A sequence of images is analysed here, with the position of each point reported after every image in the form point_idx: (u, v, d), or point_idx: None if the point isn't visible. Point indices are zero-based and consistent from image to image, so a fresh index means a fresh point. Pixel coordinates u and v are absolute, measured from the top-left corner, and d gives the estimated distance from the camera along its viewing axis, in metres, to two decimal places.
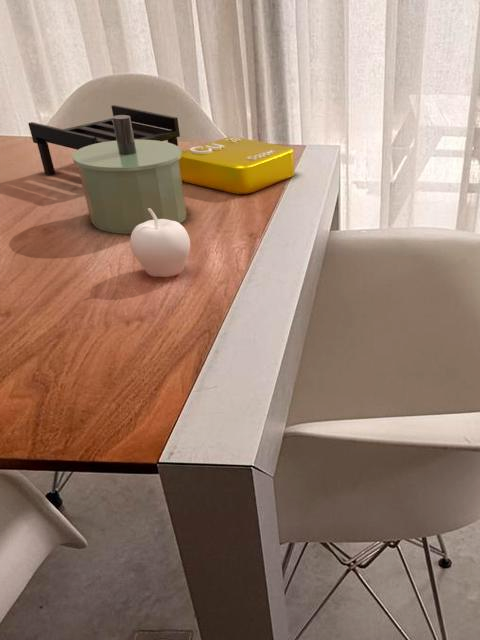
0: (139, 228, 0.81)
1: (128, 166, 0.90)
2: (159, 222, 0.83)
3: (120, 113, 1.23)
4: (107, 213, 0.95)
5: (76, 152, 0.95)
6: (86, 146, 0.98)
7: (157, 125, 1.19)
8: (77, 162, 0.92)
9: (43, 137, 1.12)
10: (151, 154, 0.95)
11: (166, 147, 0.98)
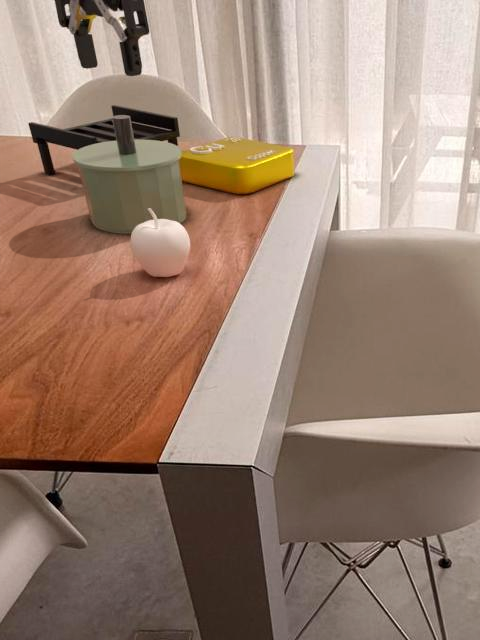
0: (139, 228, 0.81)
1: (128, 166, 0.90)
2: (159, 222, 0.83)
3: (120, 113, 1.23)
4: (107, 213, 0.95)
5: (76, 152, 0.95)
6: (86, 146, 0.98)
7: (157, 125, 1.19)
8: (77, 162, 0.92)
9: (43, 137, 1.12)
10: (151, 154, 0.95)
11: (166, 147, 0.98)
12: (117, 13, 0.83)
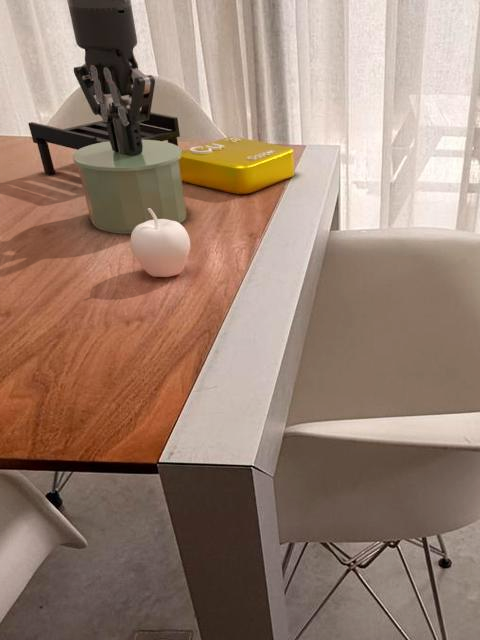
0: (139, 228, 0.81)
1: (128, 166, 0.90)
2: (159, 222, 0.83)
3: None
4: (107, 213, 0.95)
5: (76, 152, 0.95)
6: (86, 146, 0.98)
7: (157, 125, 1.19)
8: (77, 162, 0.92)
9: (43, 137, 1.12)
10: (151, 154, 0.95)
11: (166, 147, 0.98)
12: (126, 101, 0.90)
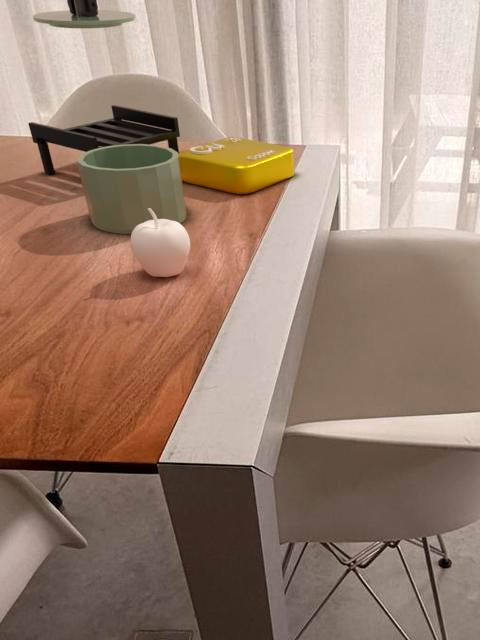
0: (139, 228, 0.81)
1: (82, 20, 0.98)
2: (159, 222, 0.83)
3: (120, 113, 1.23)
4: (107, 213, 0.95)
5: (37, 14, 1.03)
6: (47, 12, 1.05)
7: (157, 125, 1.19)
8: (36, 19, 0.99)
9: (43, 137, 1.12)
10: (106, 16, 1.03)
11: (121, 13, 1.06)
12: None
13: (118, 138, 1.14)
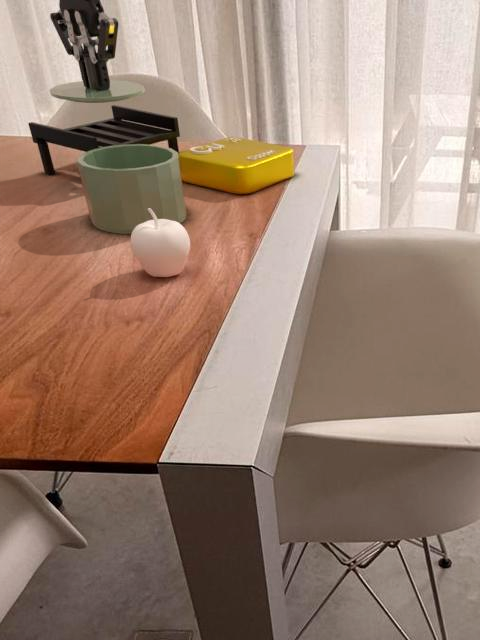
0: (139, 228, 0.81)
1: (96, 97, 1.06)
2: (159, 222, 0.83)
3: (120, 113, 1.23)
4: (107, 213, 0.95)
5: (53, 88, 1.11)
6: (62, 84, 1.14)
7: (157, 125, 1.19)
8: (53, 94, 1.08)
9: (43, 137, 1.12)
10: (117, 89, 1.11)
11: (131, 85, 1.14)
12: (94, 41, 1.06)
13: (118, 138, 1.14)
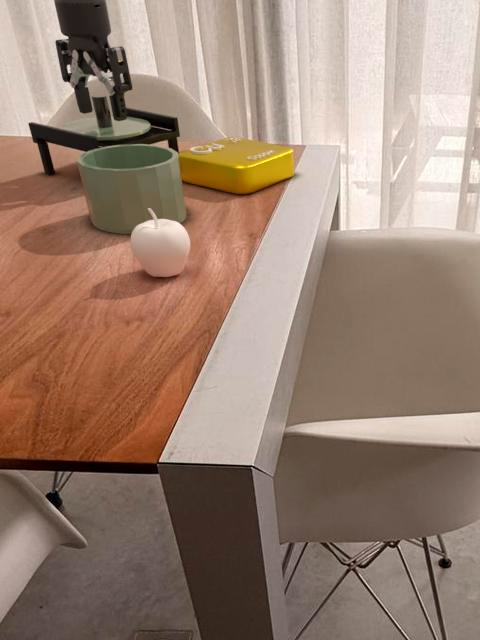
0: (139, 228, 0.81)
1: (104, 136, 1.10)
2: (159, 222, 0.83)
3: None
4: (107, 213, 0.95)
5: (62, 125, 1.15)
6: (71, 121, 1.17)
7: (157, 125, 1.19)
8: None
9: (43, 137, 1.12)
10: (124, 127, 1.15)
11: (138, 122, 1.18)
12: (107, 74, 1.08)
13: None
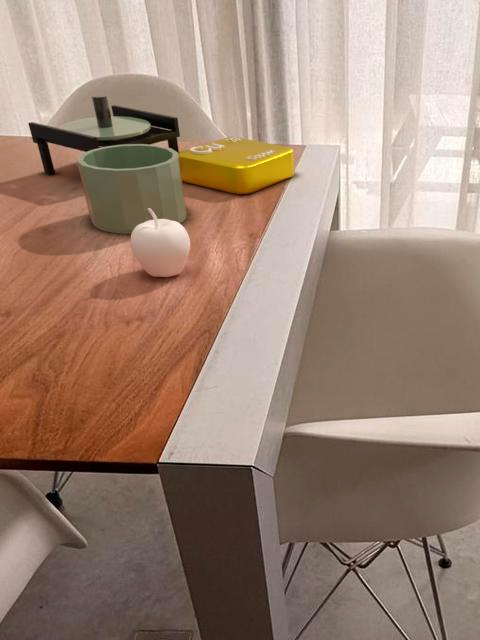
0: (139, 228, 0.81)
1: (104, 136, 1.10)
2: (159, 222, 0.83)
3: (120, 113, 1.23)
4: (107, 213, 0.95)
5: (62, 125, 1.15)
6: (71, 121, 1.17)
7: (157, 125, 1.19)
8: None
9: (43, 137, 1.12)
10: (124, 127, 1.15)
11: (138, 122, 1.18)
12: None
13: None
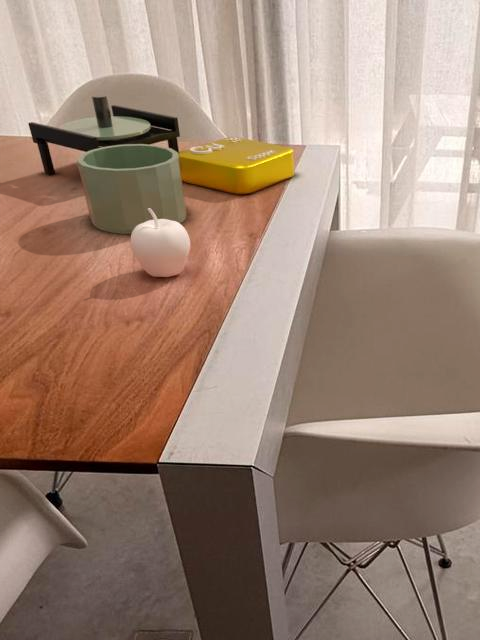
0: (139, 228, 0.81)
1: (104, 136, 1.10)
2: (159, 222, 0.83)
3: (120, 113, 1.23)
4: (107, 213, 0.95)
5: (62, 125, 1.15)
6: (71, 121, 1.17)
7: (157, 125, 1.19)
8: None
9: (43, 137, 1.12)
10: (124, 127, 1.15)
11: (138, 122, 1.18)
12: None
13: None
